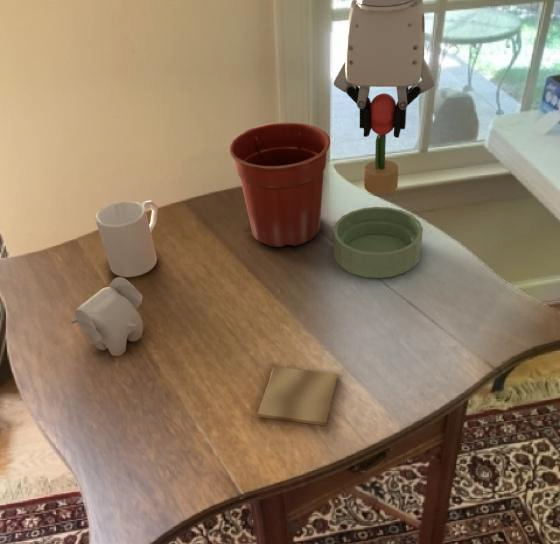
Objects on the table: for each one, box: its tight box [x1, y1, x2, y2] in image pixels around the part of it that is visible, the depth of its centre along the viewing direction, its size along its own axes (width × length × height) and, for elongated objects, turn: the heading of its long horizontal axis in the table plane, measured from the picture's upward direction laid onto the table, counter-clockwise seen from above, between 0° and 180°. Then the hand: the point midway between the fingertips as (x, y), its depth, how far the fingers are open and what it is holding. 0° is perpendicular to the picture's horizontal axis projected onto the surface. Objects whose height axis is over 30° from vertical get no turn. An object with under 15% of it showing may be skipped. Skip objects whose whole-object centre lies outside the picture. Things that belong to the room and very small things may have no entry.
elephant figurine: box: [70, 276, 144, 357], centre depth 96 cm, size 10×12×9 cm
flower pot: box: [228, 122, 331, 248], centre depth 112 cm, size 16×16×16 cm
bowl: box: [332, 206, 424, 279], centre depth 108 cm, size 14×14×5 cm
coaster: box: [257, 366, 339, 426], centre depth 87 cm, size 9×9×1 cm
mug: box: [94, 200, 159, 278], centre depth 111 cm, size 8×12×10 cm, turn 146°
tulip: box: [363, 92, 399, 195], centre depth 95 cm, size 5×5×14 cm
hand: (382, 131), depth 94 cm, fingers closed on tulip, 3 cm apart
